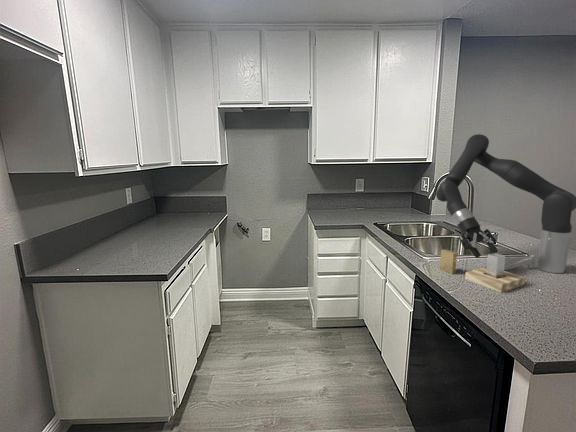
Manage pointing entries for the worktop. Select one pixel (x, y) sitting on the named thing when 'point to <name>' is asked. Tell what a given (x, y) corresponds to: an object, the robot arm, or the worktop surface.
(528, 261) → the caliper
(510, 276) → the socket block
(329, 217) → the worktop surface
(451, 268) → the light brown wooden block
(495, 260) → the square bit
